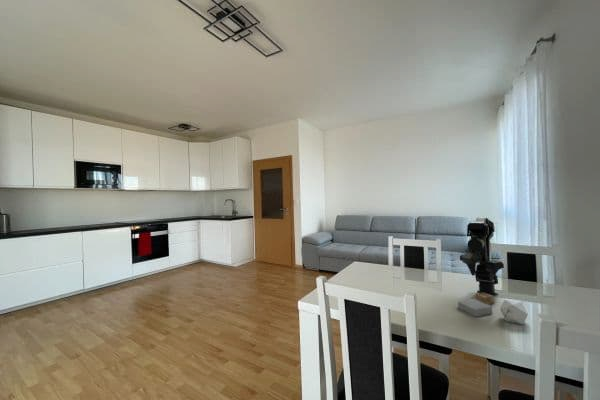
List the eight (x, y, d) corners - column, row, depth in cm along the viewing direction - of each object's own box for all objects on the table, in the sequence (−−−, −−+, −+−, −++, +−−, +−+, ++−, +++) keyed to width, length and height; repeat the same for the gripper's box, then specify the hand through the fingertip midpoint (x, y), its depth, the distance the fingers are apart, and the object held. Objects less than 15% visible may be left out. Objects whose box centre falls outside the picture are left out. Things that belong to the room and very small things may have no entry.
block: (484, 300, 117) (483, 292, 117) (494, 304, 112) (493, 295, 112) (475, 301, 116) (475, 293, 116) (485, 305, 111) (484, 297, 111)
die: (495, 316, 102) (493, 303, 97) (510, 304, 102) (509, 291, 98) (517, 332, 94) (516, 319, 90) (534, 319, 95) (533, 305, 90)
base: (473, 305, 112) (473, 298, 112) (492, 313, 103) (491, 306, 103) (458, 307, 110) (457, 301, 110) (475, 316, 101) (475, 309, 102)
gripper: (449, 245, 122) (452, 274, 122) (482, 252, 104) (485, 287, 104) (467, 243, 124) (470, 272, 124) (503, 249, 106) (506, 283, 105)
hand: (481, 278), depth 114 cm, fingers open, 9 cm apart
